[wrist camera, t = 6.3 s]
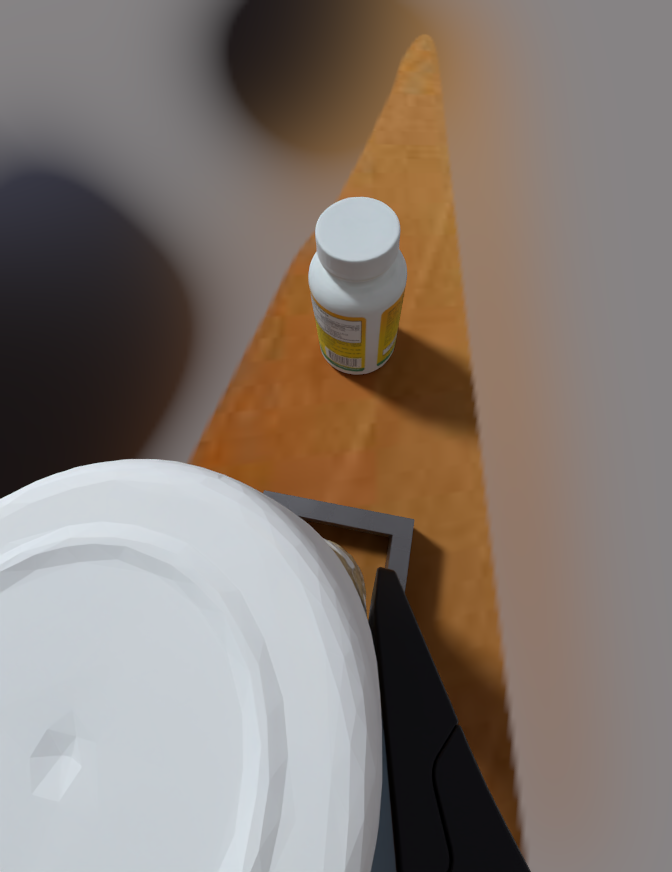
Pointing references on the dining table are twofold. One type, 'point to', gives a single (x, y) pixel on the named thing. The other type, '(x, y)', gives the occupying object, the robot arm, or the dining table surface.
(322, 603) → the sprinkles bottle
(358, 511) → the bottle holder
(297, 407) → the dining table surface
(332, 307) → the supplement bottle
